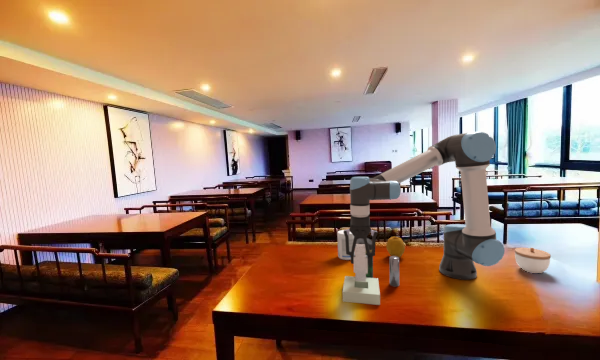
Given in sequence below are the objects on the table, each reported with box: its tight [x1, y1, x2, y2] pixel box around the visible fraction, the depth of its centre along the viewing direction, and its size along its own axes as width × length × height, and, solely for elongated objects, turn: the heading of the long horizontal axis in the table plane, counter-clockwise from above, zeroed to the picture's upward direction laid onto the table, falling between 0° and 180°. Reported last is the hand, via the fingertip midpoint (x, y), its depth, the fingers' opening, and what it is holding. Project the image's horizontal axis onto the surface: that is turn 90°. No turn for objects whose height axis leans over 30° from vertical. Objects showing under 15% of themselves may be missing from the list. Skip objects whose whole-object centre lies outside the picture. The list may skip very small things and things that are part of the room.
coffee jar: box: [356, 237, 374, 278], centre depth 120 cm, size 10×8×19 cm
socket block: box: [342, 275, 381, 306], centre depth 107 cm, size 14×14×4 cm
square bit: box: [355, 244, 366, 282], centre depth 106 cm, size 4×4×14 cm
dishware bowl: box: [514, 247, 551, 274], centre depth 123 cm, size 13×13×11 cm
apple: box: [386, 236, 406, 259], centre depth 145 cm, size 10×10×12 cm
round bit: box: [388, 255, 400, 287], centre depth 114 cm, size 4×4×12 cm
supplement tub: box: [336, 229, 355, 261], centre depth 147 cm, size 10×10×15 cm
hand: (360, 271), depth 106 cm, fingers closed on square bit, 4 cm apart
